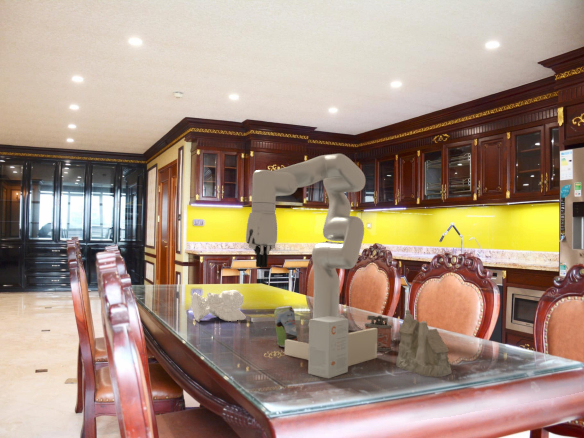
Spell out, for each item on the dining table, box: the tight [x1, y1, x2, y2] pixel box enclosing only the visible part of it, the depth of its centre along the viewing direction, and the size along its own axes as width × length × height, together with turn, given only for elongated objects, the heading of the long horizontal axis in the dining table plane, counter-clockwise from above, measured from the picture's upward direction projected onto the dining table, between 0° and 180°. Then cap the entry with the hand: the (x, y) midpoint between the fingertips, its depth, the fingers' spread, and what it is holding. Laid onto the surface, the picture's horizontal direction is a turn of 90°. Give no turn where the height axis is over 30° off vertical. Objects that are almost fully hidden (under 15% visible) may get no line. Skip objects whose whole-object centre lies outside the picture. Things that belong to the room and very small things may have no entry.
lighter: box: [364, 314, 393, 352], centre depth 147 cm, size 8×3×10 cm, turn 71°
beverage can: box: [273, 305, 298, 348], centre depth 147 cm, size 6×7×12 cm
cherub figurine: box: [190, 289, 247, 323], centre depth 194 cm, size 13×12×20 cm
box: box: [284, 328, 378, 367], centre depth 136 cm, size 16×20×8 cm
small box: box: [307, 316, 350, 379], centre depth 118 cm, size 8×6×13 cm
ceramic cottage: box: [395, 309, 453, 378], centre depth 127 cm, size 16×16×15 cm
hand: (261, 266), depth 155 cm, fingers closed
